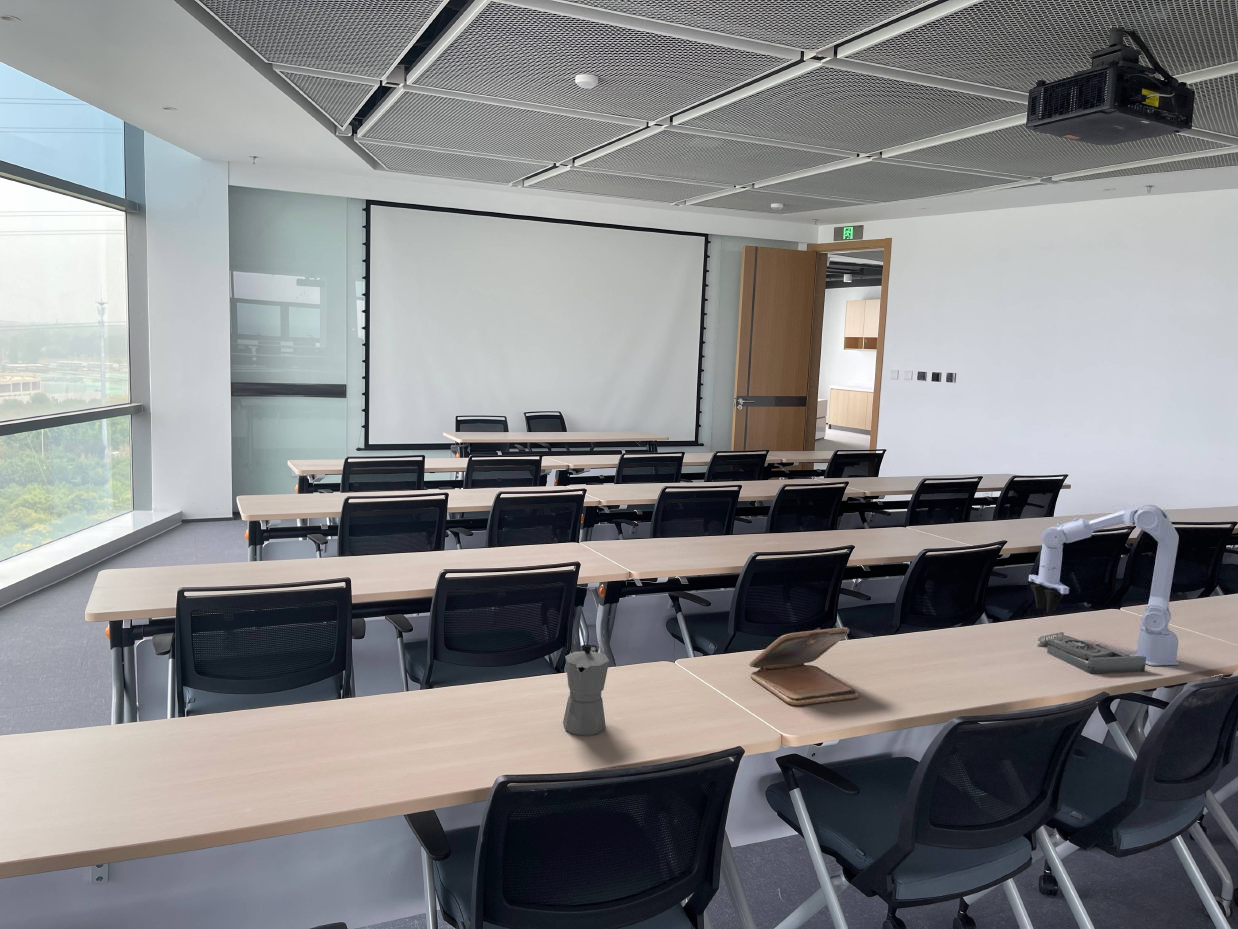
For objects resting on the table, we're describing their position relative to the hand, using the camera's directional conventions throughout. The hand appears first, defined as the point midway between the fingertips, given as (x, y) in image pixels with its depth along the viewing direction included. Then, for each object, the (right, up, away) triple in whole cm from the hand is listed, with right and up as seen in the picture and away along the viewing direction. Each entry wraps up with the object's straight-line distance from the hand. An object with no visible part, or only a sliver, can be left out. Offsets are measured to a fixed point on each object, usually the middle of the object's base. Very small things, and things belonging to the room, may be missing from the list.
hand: (1045, 610), depth 250 cm
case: (-84, -11, -47) cm, 97 cm away
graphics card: (+2, -11, -11) cm, 16 cm away
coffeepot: (-136, -11, -74) cm, 155 cm away
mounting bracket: (+4, -11, -20) cm, 23 cm away
